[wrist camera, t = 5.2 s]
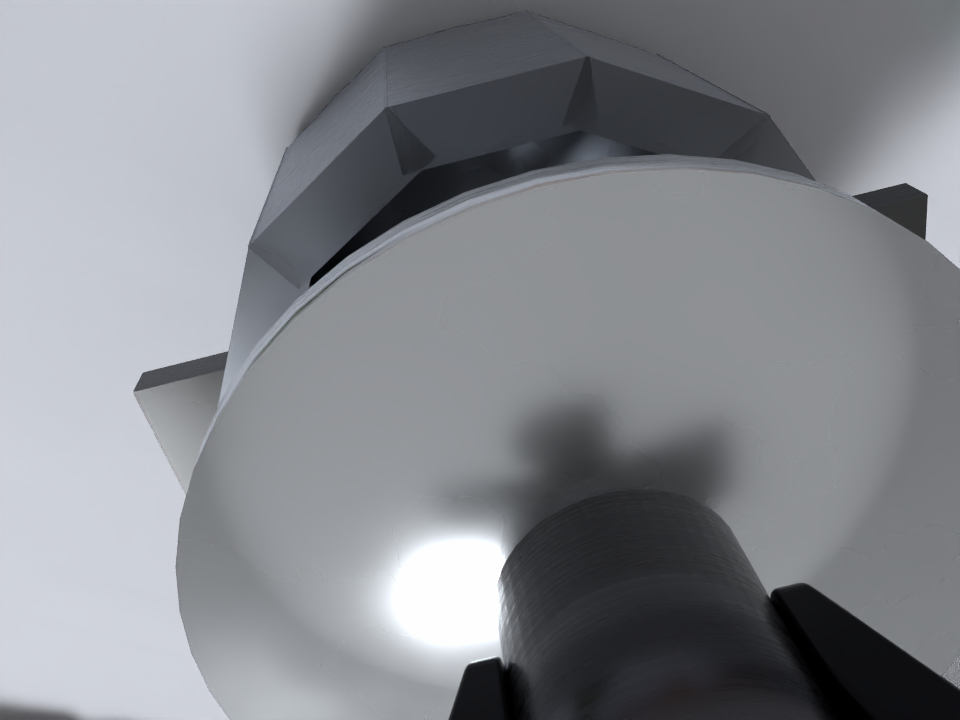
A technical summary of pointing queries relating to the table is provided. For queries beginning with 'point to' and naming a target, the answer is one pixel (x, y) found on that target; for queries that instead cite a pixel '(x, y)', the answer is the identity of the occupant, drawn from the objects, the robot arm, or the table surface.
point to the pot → (460, 165)
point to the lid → (585, 455)
